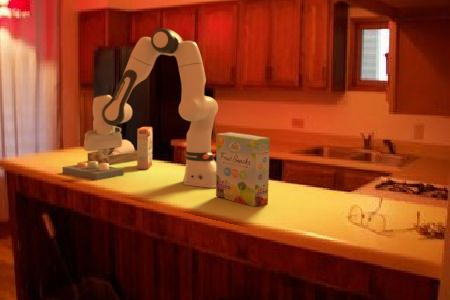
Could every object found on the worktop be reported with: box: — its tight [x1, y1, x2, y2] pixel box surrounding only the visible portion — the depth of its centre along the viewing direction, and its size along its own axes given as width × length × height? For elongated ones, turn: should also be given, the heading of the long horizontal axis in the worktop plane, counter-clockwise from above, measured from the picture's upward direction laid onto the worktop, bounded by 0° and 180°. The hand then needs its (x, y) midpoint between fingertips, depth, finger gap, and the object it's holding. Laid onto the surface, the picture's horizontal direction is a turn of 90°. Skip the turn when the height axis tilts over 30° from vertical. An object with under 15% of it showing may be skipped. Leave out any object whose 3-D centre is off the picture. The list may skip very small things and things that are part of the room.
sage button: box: [87, 161, 98, 169], centre depth 239 cm, size 5×5×4 cm
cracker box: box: [136, 126, 153, 170], centre depth 259 cm, size 14×6×21 cm, turn 179°
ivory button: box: [98, 163, 110, 172], centre depth 234 cm, size 5×5×4 cm
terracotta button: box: [76, 161, 88, 168], centre depth 244 cm, size 5×5×4 cm
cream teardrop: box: [108, 139, 136, 156], centre depth 279 cm, size 12×12×18 cm
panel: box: [62, 164, 125, 181], centre depth 239 cm, size 26×16×3 cm, turn 53°
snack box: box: [215, 131, 271, 208], centre depth 191 cm, size 22×9×26 cm, turn 45°
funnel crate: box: [87, 148, 137, 166], centre depth 279 cm, size 17×25×5 cm
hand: (103, 158), depth 234 cm, fingers closed
